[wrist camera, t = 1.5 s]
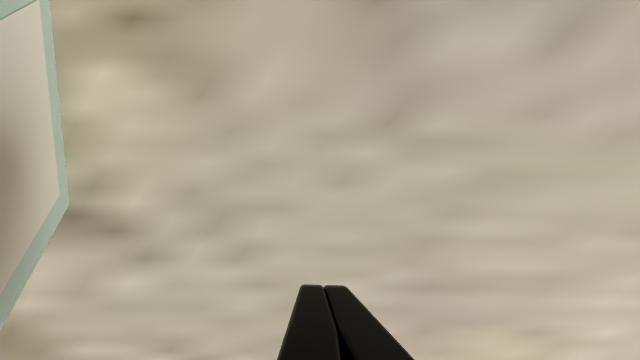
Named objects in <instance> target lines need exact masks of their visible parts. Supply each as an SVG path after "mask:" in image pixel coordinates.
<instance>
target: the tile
mask: <svg viewBox="0 0 640 360" xmlns="http://www.w3.org/2000/svg"><path fill="white" fill-rule="evenodd" d="M68 206H69V199H68V189H67V178H66V168H65V158H64V147H63V137H62V127H61V116H60V106H59V96H58V85H57V75H56V65H55V54H54V44H53V34H52V23H51V13H50V3H49V0H0V330H1V328H2V326H3V325H4V323H5V321H6V319H7V317H8V315H9V314H10V312H11V310H12V308H13V306H14V304H15V303H16V301H17V299H18V297H19V295H20V293H21V292H22V290H23V288H24V286H25V284H26V283H27V281H28V279H29V277H30V275H31V273H32V272H33V270H34V268H35V266H36V264H37V262H38V261H39V259H40V257H41V255H42V253H43V251H44V250H45V248H46V246H47V244H48V242H49V241H50V239H51V237H52V235H53V233H54V231H55V230H56V228H57V226H58V224H59V222H60V220H61V219H62V217H63V215H64V213H65V211H66V209H67V208H68Z"/></svg>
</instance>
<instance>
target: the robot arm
mask: <svg viewBox="0 0 640 360" xmlns="http://www.w3.org/2000/svg"><path fill="white" fill-rule="evenodd" d="M277 360H414V359H413V358H412V357H411V356H410V355H409V354H408V352H407V351H406V350H405V349H404V348H403V347H402V346H401V345H400V344H399V343H398V342H397V341H396V340H395V338H394V337H393V336H392V335H391V334H390V333H389V332H388V331H387V330H386V329H385V328H384V327H383V326H382V324H381V323H380V322H379V321H378V320H377V319H376V318H375V317H374V316H373V315H372V314H371V313H370V312H369V311H368V309H367V308H366V307H365V306H364V305H363V304H362V303H361V302H360V301H359V300H358V299H357V298H356V297H355V295H354V294H353V293H352V292H351V291H350V290H349V289H348V288H347V287H345V286H338V285H326V286H325V287H324V288H323V287H322V286H321V285H302V286H301V287H300V290H299V293H298V296H297V299H296V302H295V305H294V308H293V312H292V315H291V318H290V321H289V324H288V327H287V330H286V333H285V336H284V340H283V343H282V346H281V349H280V352H279V355H278V358H277Z"/></svg>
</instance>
